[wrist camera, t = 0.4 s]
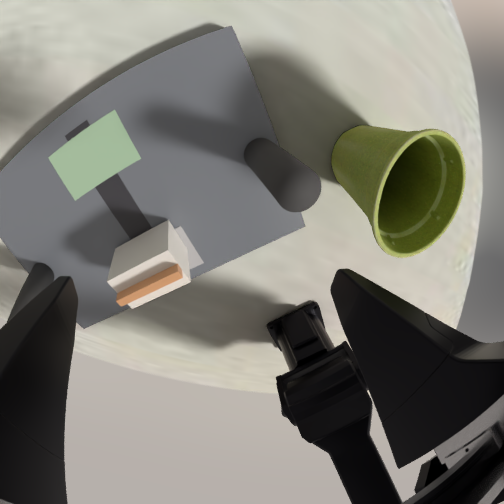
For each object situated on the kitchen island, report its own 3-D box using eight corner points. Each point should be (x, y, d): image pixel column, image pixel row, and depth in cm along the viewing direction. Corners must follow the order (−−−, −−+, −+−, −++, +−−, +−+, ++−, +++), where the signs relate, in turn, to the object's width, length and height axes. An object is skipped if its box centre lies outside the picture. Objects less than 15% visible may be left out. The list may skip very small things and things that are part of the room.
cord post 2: (280, 162, 19) (325, 201, 14) (250, 174, 19) (284, 219, 14) (270, 132, 18) (315, 160, 12) (238, 145, 18) (269, 179, 12)
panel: (299, 219, 24) (305, 226, 23) (85, 320, 25) (83, 329, 24) (228, 29, 14) (231, 25, 13) (-18, 195, 14) (-25, 201, 13)
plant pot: (296, 193, 23) (350, 251, 16) (333, 89, 18) (411, 104, 11) (374, 212, 26) (430, 262, 19) (408, 129, 21) (478, 160, 14)
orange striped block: (187, 249, 21) (191, 290, 18) (135, 274, 22) (131, 317, 18) (168, 219, 20) (168, 257, 16) (115, 248, 20) (105, 289, 16)
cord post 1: (59, 277, 20) (37, 339, 14) (44, 287, 20) (22, 346, 14) (42, 258, 18) (14, 318, 13) (28, 269, 18) (1, 327, 13)
